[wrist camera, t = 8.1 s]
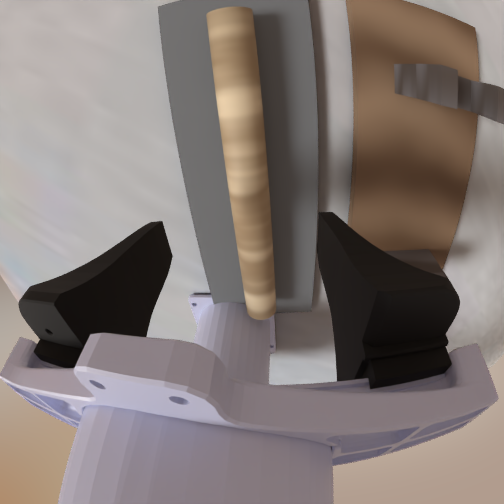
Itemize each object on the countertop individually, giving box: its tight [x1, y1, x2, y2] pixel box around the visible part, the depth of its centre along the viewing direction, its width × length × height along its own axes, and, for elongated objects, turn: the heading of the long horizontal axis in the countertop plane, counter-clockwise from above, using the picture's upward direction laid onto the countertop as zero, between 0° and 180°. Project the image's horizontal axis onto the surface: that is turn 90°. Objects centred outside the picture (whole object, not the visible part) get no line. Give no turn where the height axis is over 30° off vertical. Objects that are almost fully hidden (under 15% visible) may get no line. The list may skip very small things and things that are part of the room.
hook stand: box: [346, 0, 504, 278], centre depth 14 cm, size 26×10×6 cm, turn 5°
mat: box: [158, 0, 318, 313], centre depth 18 cm, size 26×9×1 cm, turn 5°
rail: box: [206, 7, 276, 320], centre depth 17 cm, size 22×2×2 cm, turn 5°
